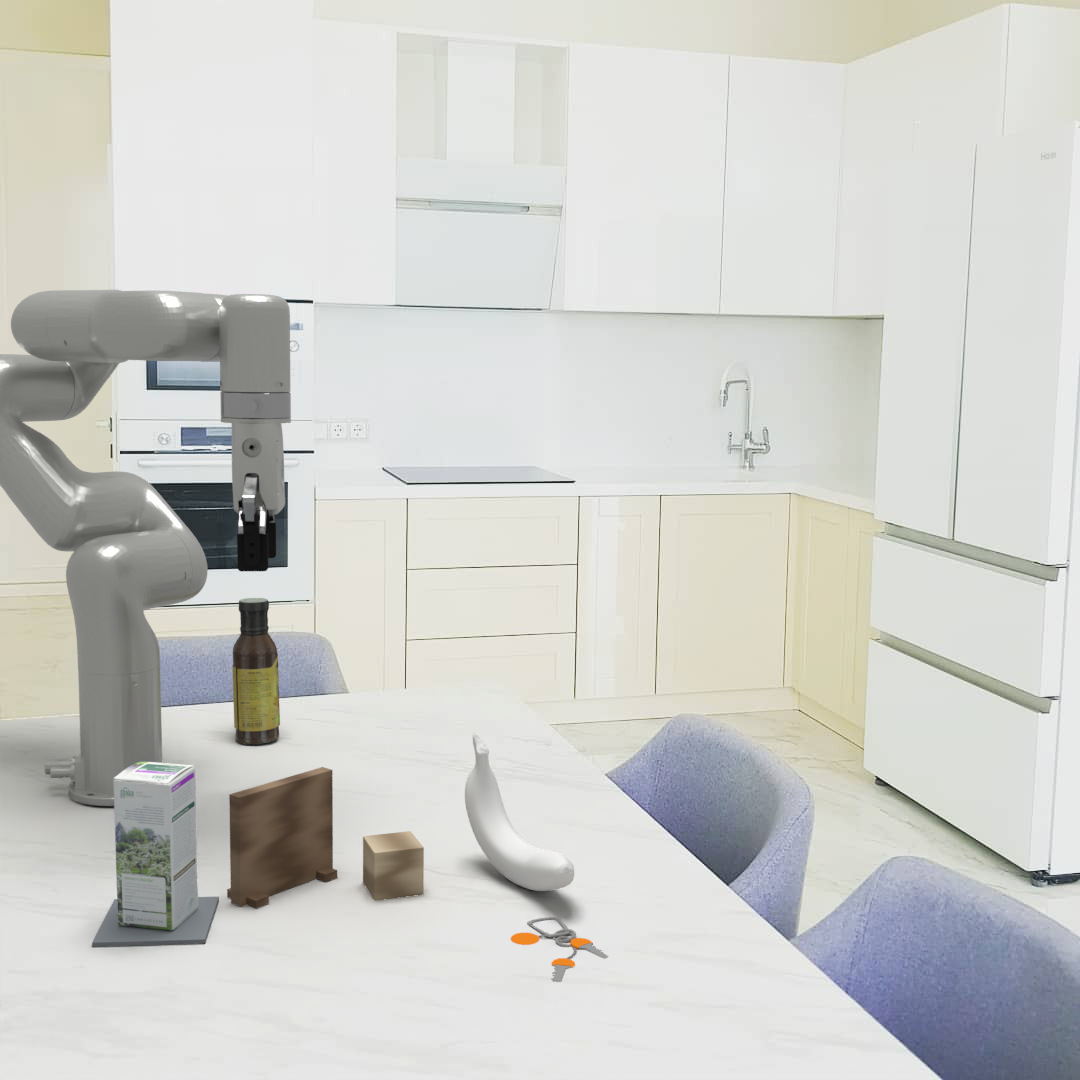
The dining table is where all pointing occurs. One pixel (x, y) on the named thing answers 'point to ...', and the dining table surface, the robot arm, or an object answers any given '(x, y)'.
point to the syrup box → (155, 844)
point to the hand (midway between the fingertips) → (257, 564)
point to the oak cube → (393, 865)
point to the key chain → (575, 943)
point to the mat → (185, 933)
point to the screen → (281, 836)
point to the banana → (508, 833)
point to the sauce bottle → (255, 676)
